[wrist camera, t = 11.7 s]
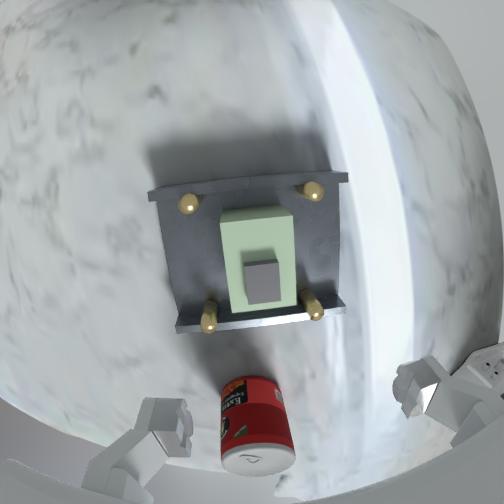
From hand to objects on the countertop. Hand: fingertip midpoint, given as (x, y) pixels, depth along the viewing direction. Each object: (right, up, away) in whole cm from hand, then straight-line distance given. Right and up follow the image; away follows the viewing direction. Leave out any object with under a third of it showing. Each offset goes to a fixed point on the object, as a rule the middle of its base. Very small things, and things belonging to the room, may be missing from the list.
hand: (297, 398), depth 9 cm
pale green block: (-1, +6, +16) cm, 17 cm away
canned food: (-2, -13, +24) cm, 27 cm away
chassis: (-2, +6, +17) cm, 18 cm away
